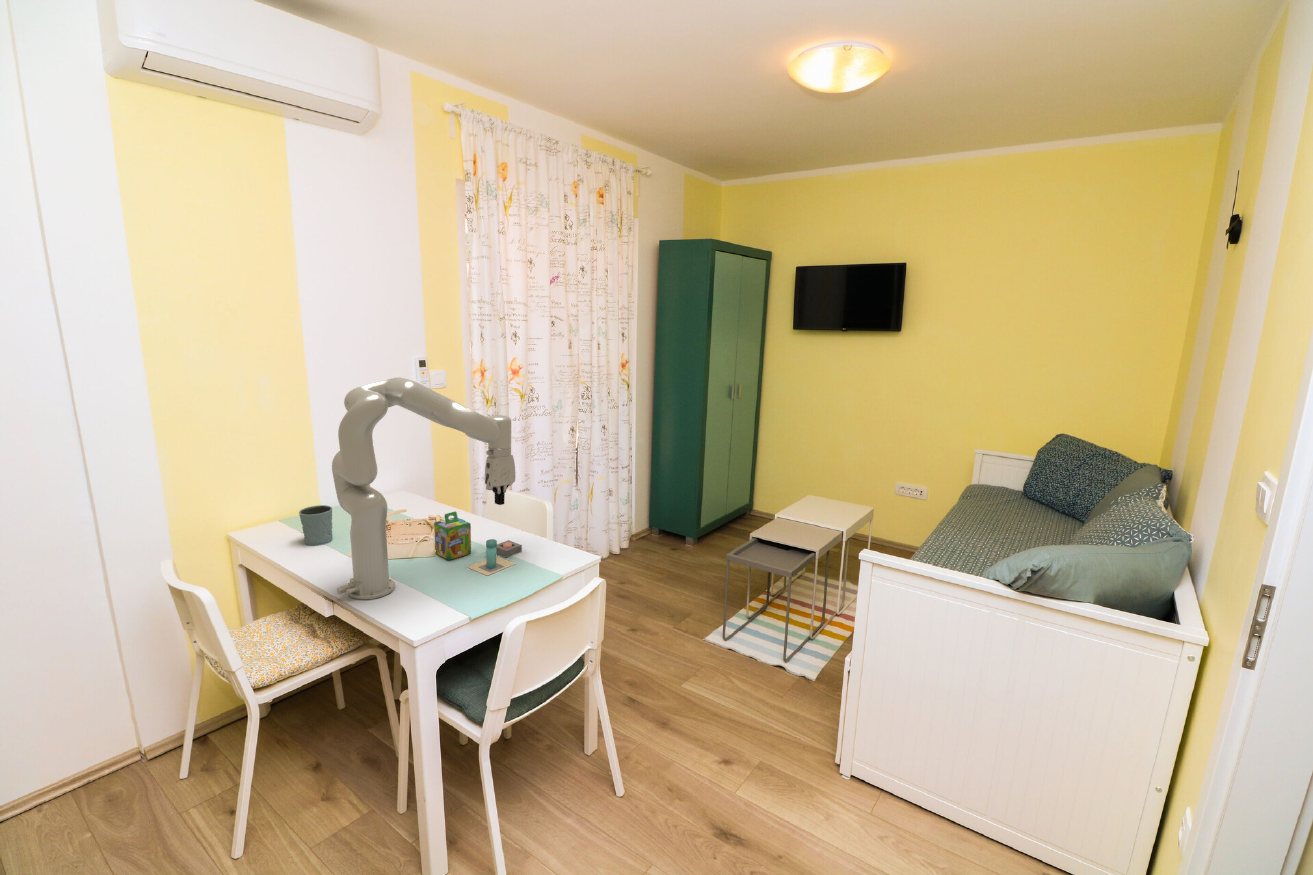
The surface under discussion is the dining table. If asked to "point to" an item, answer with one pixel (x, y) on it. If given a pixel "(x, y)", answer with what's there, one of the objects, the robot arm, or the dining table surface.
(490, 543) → the teal cylinder
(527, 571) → the dining table surface
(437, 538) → the chalk box
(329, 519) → the teal grey cup
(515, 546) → the button collar
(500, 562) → the sheet
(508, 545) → the button
